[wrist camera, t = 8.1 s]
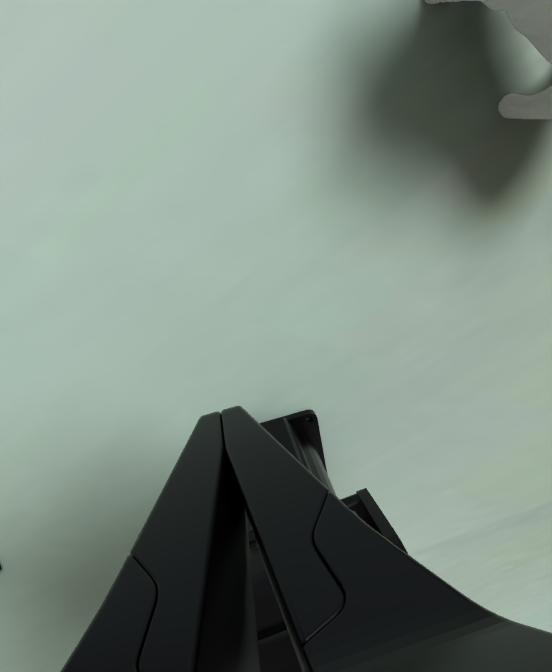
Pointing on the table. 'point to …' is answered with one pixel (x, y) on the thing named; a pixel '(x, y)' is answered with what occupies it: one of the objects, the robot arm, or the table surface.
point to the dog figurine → (547, 37)
